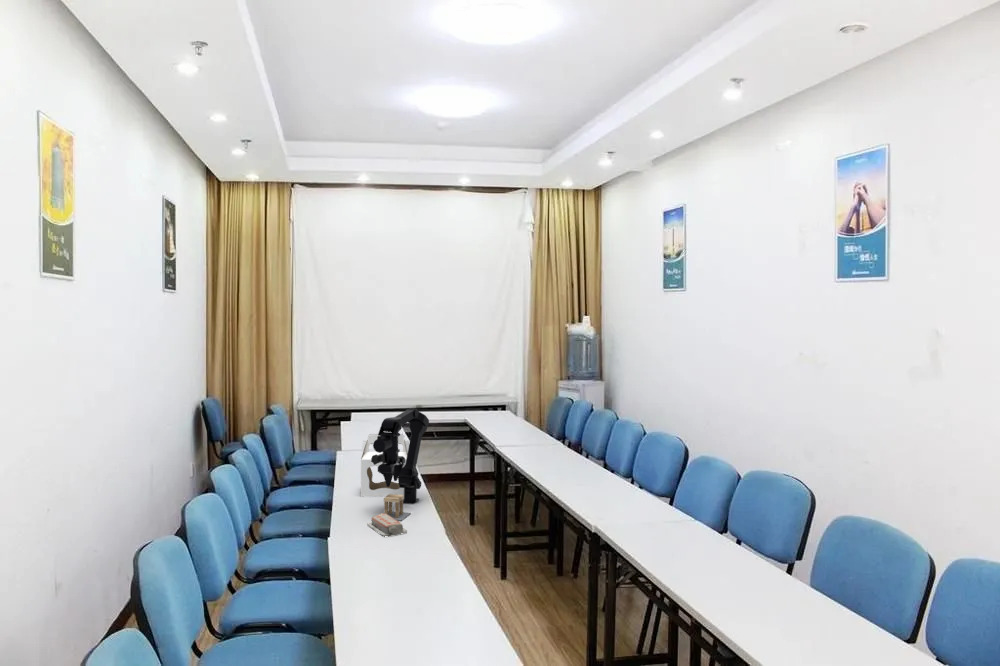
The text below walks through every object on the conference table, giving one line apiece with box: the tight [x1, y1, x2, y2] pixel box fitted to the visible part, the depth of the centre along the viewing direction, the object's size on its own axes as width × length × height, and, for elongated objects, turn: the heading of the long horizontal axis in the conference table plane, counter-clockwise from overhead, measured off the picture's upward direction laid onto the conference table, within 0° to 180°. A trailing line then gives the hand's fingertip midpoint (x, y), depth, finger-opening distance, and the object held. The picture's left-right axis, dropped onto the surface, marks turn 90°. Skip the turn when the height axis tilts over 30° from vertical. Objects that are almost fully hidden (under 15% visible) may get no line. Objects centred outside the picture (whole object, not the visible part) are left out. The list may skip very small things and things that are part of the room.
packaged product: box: [366, 512, 408, 538], centre depth 290 cm, size 18×5×10 cm
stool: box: [383, 494, 404, 518], centre depth 307 cm, size 6×6×8 cm
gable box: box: [360, 433, 410, 497], centre depth 345 cm, size 22×13×28 cm, turn 94°
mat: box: [388, 510, 411, 522], centre depth 307 cm, size 11×11×1 cm
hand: (391, 483), depth 316 cm, fingers open, 9 cm apart
